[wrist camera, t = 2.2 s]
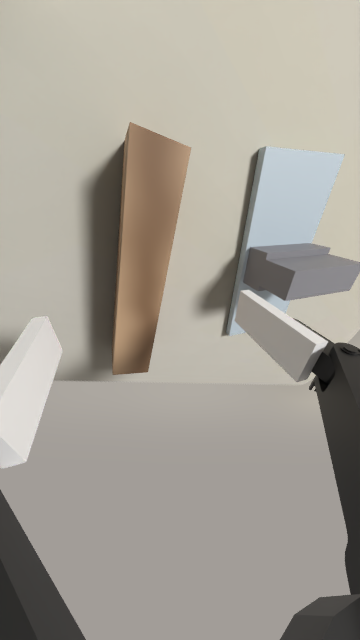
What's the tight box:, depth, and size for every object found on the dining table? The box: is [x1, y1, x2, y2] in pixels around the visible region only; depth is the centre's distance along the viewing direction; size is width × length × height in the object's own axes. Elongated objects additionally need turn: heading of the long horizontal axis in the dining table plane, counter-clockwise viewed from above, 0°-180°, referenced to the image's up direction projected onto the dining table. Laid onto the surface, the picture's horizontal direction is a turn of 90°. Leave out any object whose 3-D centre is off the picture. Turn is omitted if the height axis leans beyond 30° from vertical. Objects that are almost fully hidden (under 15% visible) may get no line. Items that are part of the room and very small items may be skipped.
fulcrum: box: [226, 146, 360, 336], centre depth 22 cm, size 10×22×8 cm, turn 179°
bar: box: [112, 122, 191, 375], centre depth 19 cm, size 4×21×5 cm, turn 167°
